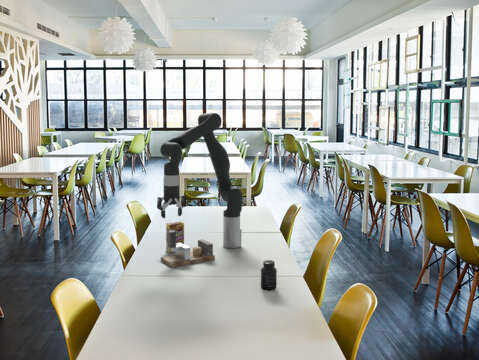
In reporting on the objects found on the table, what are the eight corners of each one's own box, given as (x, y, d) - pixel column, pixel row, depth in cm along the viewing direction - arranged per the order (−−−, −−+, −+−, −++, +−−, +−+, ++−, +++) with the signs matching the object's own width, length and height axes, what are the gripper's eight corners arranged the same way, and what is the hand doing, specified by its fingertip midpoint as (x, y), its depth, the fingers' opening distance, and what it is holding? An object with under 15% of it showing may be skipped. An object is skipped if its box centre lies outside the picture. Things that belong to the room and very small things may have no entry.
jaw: (180, 253, 262) (180, 227, 260) (190, 259, 254) (190, 231, 252) (164, 256, 257) (164, 229, 255) (173, 262, 249) (173, 234, 247)
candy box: (169, 253, 271) (169, 224, 268) (165, 250, 274) (165, 223, 272) (184, 250, 276) (184, 222, 273) (180, 248, 279) (180, 221, 277)
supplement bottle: (259, 285, 226) (260, 259, 224) (275, 285, 226) (275, 259, 224) (261, 291, 219) (262, 264, 217) (277, 291, 219) (278, 264, 217)
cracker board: (202, 253, 271) (202, 238, 270) (214, 259, 261) (214, 244, 260) (161, 261, 258) (160, 245, 256) (172, 267, 248) (171, 251, 246)
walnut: (198, 252, 265) (198, 246, 264) (203, 255, 261) (203, 248, 261) (191, 254, 262) (191, 247, 262) (195, 256, 259) (195, 249, 258)
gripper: (180, 181, 255) (181, 213, 258) (154, 184, 247) (154, 217, 250) (188, 184, 249) (188, 216, 251) (161, 186, 241) (161, 220, 244)
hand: (171, 216), depth 251 cm, fingers open, 8 cm apart
